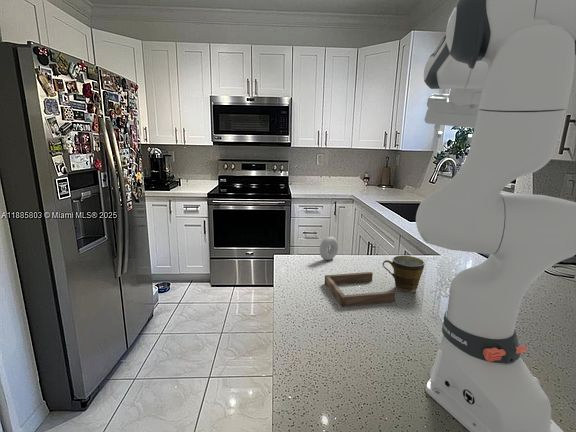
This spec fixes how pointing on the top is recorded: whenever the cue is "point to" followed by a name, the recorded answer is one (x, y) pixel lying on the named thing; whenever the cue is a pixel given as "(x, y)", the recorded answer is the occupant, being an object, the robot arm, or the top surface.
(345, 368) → the top surface
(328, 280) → the wooden u-shaped frame
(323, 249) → the donut
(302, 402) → the top surface
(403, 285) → the ceramic cup
